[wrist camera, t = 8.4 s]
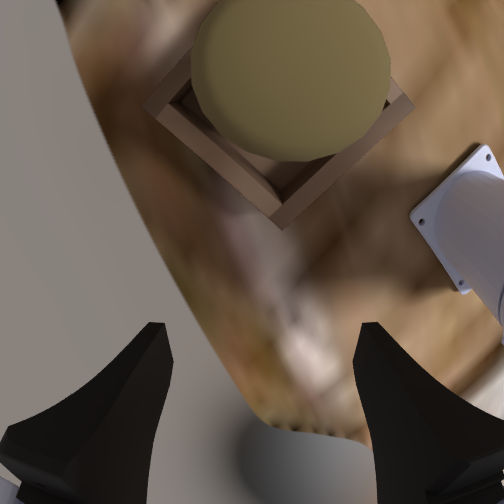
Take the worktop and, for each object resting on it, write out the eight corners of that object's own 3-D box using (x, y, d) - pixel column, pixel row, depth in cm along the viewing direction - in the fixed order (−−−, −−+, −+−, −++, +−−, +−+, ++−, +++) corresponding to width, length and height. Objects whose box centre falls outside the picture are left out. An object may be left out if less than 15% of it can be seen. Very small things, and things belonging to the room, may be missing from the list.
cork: (277, 157, 18) (295, 244, 8) (197, 84, 16) (105, 76, 6) (354, 86, 15) (468, 86, 6) (275, 10, 14) (290, -92, 4)
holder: (391, 103, 17) (415, 107, 14) (279, 207, 20) (281, 230, 17) (274, -10, 14) (277, -30, 11) (161, 104, 17) (141, 106, 14)
